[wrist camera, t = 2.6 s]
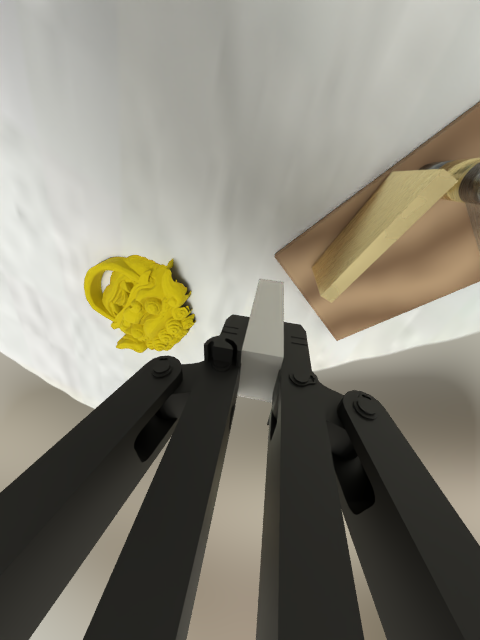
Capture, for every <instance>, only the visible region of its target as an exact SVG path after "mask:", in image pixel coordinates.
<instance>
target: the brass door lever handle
mask: <svg viewBox="0 0 480 640" xmlns="http://www.w3.org/2000/svg"><path fill="white" fill-rule="evenodd" d="M479 162H480V158H472V159H462V160H454V161H451V162H448V163H446V164H445V165H443V166H442V167H441V168H439V169H430V170H412V171H395V172H392V173H391V174H390V175H389V176H388V177H387V179H386V180H385V181H384V182H383V183H382V184H381V186H380V187H379V188H378V189H377V190H376V192H375V193H374V194H373V195H372V196H371V198H370V199H369V200H368V201H367V202H366V204H365V205H364V206H363V207H362V208H361V209H360V211H359V212H358V213H357V214H356V215H355V217H354V218H353V219H352V220H351V221H350V223H349V224H348V225H347V226H346V227H345V228H344V230H343V231H342V232H341V233H340V234H339V236H338V237H337V238H336V239H335V240H334V242H333V243H332V244H331V245H330V246H329V248H328V249H327V250H326V251H325V252H324V253H323V255H322V256H321V257H320V258H319V259H318V261H317V262H316V263H315V264H314V265H313V267H312V271H313V274H314V277H315V280H316V283H317V286H318V289H319V293H320V296H321V297H323V298H324V299H326V300H328V301H329V302H331V303H332V302H333V301H334V300H335V299H336V298H337V297H338V296H339V295H340V294H341V293H342V292H343V291H345V290H346V289H347V288H348V287H349V286H350V285H351V284H352V283H353V282H354V281H355V280H356V279H357V278H358V277H359V276H360V275H361V274H362V273H363V272H364V271H365V270H366V269H367V268H368V267H369V266H371V265H372V264H373V263H374V262H375V261H376V260H377V259H378V258H379V257H380V256H381V255H382V254H383V253H384V252H385V251H386V250H387V249H388V248H389V247H390V246H391V245H392V244H393V243H394V242H395V241H396V240H398V239H399V238H400V237H401V236H402V235H403V234H404V233H405V232H406V231H407V230H408V229H409V228H410V227H411V226H412V225H413V224H414V223H415V222H416V221H417V220H418V219H419V218H420V217H421V216H422V215H423V214H425V213H426V212H427V211H428V210H429V209H430V208H431V207H432V206H433V205H434V204H435V203H436V202H437V201H438V200H439V199H441V200H448V201H455V202H463V201H462V200H461V199H460V197H459V194H458V190H459V186H460V183H461V181H462V179H463V178H464V176H465V175H466V174H467V172H468V171H469V170H470V169H471V168H472V167H474V166H475V165H476V164H478V163H479ZM463 203H465V202H463Z"/></svg>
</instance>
